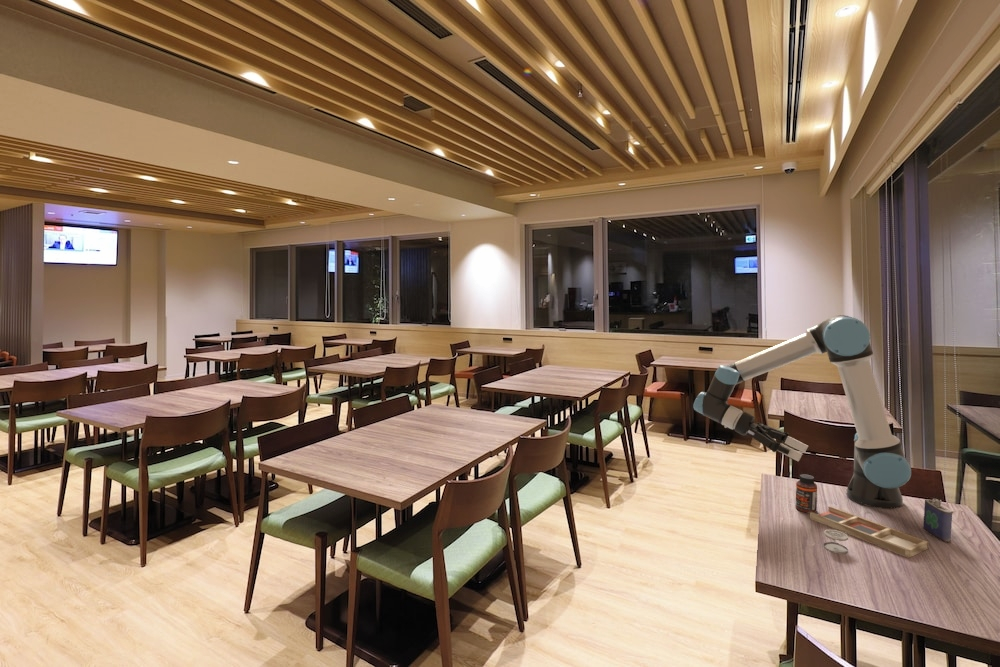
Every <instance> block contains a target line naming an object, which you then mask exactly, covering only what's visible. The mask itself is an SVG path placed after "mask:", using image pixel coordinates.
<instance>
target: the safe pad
mask: <svg viewBox="0 0 1000 667" xmlns="http://www.w3.org/2000/svg"><path fill="white" fill-rule="evenodd" d="M881 539H883V540H886V541H888V542H891V543H893V544H896V545H899V546H901V547H904V548H906V549H907V548H909V547H912V546H914V545H916V544H915V543H913V542H910V541H907V540H905V539H902V538H899V537H897V536H894V535H891V534H890V535H888V536H886V537H883V538H881Z"/></svg>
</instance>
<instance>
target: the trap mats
mask: <svg viewBox="0 0 1000 667" xmlns="http://www.w3.org/2000/svg"><path fill="white" fill-rule="evenodd" d="M818 515H821V516H824V517H826V518H829V519H831V520H834V521H837V522H840V521H843V520H846V519H848V518H846V517H843V516H840V515H838V514H835V513H832V512H830V511H825V512H822V513H820V514H819V513H818ZM849 526H850V527H852V528H855V529H857V530H860V531H862V532H865V533H868V534H870V535H871V534H874V533H876V532H879V531H880V530H878V529H875V528H872V527H870V526H867V525H864V524H862V523H859V522H857V523H854V524H852V525H849Z"/></svg>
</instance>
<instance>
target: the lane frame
mask: <svg viewBox="0 0 1000 667" xmlns="http://www.w3.org/2000/svg"><path fill="white" fill-rule="evenodd" d="M827 507H828V508H827V509H828V511H830V512H832V513H835V514H838V515H840V516H843V517H846V518H848V519H846V520H843V521H840V522H837V521H834V520H831V519H829V518H826V517H824V516H821V515H819V513H816V512H814V513H813V512H810V513H809V514H810V515H809V519H810V520H812V521H815V522H817V523H820V524H822V525H824V526H825V525H826V526H827V527H830V528H833V529H834V530H837V531H840V532H843V533H845V534H846V535H850V536H853V537H855V538H858V539H860V540H862V541H865V542H868V543H870V544H873V545H874V546H877V547H880V548H883V549H885V550H888V551H890V552H892V553H895V554H898V555H900V556H901V557H902V556H903V557H905V558H908V559H910V558H912V557H913V556H916V555H918V554H920V553H922V552H924V551H926V550H929V546H930V544H929V543H930V541H927V540H925V539H922V538H920V537H918V536H914V535H911V534H909V533H907V532H903V531H900V530H898V529H895V528H891V527H889V526H888V525H887V526H886V525H884V524H881V523H879V522H875V521H873V520H870V519H868V518H865V517H862V516H859V515H857V514H854V513H851V512H848V511H845V510H843V509H840V508H837V507H835V506H831V505H828V506H827ZM857 522H859V523H862V524H864V525H867V526H870V527H872V528H875V529H878V530H880V531H879V532H876V533H874V534H871V535H870V534H868V533H865V532H862V531H860V530H857V529H855V528H852V527H850V526H849V525H852V524H854V523H857ZM890 534H891V535H894V536H897V537H899V538H902V539H905V540H907V541H910V542H913V543H915V544H916V545H914V546H912V547H909V548H907V549H906V548H904V547H901V546H899V545H896V544H893V543H891V542H888V541H886V540H883V539H881V538H883V537H886V536H888V535H890Z"/></svg>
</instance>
